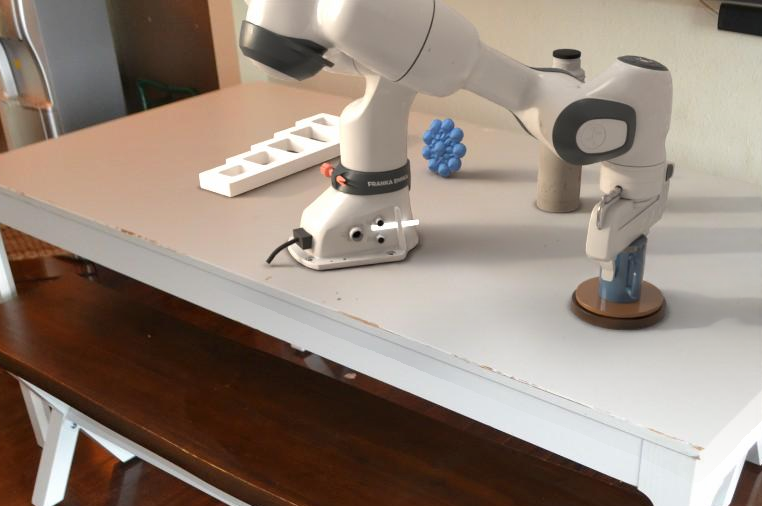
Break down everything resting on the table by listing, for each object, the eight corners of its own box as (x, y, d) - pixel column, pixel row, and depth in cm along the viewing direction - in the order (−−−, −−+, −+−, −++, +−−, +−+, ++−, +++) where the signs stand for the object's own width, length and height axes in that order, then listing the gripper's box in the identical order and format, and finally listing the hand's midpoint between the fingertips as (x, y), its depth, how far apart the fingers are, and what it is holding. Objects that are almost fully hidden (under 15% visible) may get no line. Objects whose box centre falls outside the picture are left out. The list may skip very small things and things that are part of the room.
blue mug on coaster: (564, 283, 152) (568, 224, 147) (643, 275, 154) (650, 217, 149) (592, 322, 141) (598, 259, 136) (676, 313, 143) (685, 251, 138)
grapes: (479, 178, 197) (480, 118, 190) (456, 186, 193) (456, 126, 186) (438, 164, 204) (438, 106, 197) (414, 172, 200) (414, 113, 193)
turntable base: (606, 338, 141) (607, 328, 140) (553, 299, 151) (554, 290, 150) (684, 317, 146) (685, 308, 145) (627, 281, 157) (628, 272, 156)
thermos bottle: (580, 198, 187) (592, 46, 172) (577, 214, 180) (588, 57, 165) (539, 196, 188) (546, 44, 173) (534, 211, 182) (541, 55, 167)
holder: (231, 197, 188) (229, 183, 187) (169, 177, 197) (167, 164, 196) (382, 139, 218) (382, 127, 217) (323, 124, 228) (322, 113, 226)
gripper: (621, 204, 129) (612, 299, 136) (679, 160, 143) (668, 248, 151) (578, 194, 132) (571, 288, 139) (639, 153, 146) (630, 239, 154)
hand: (622, 267), depth 145 cm, fingers open, 8 cm apart
